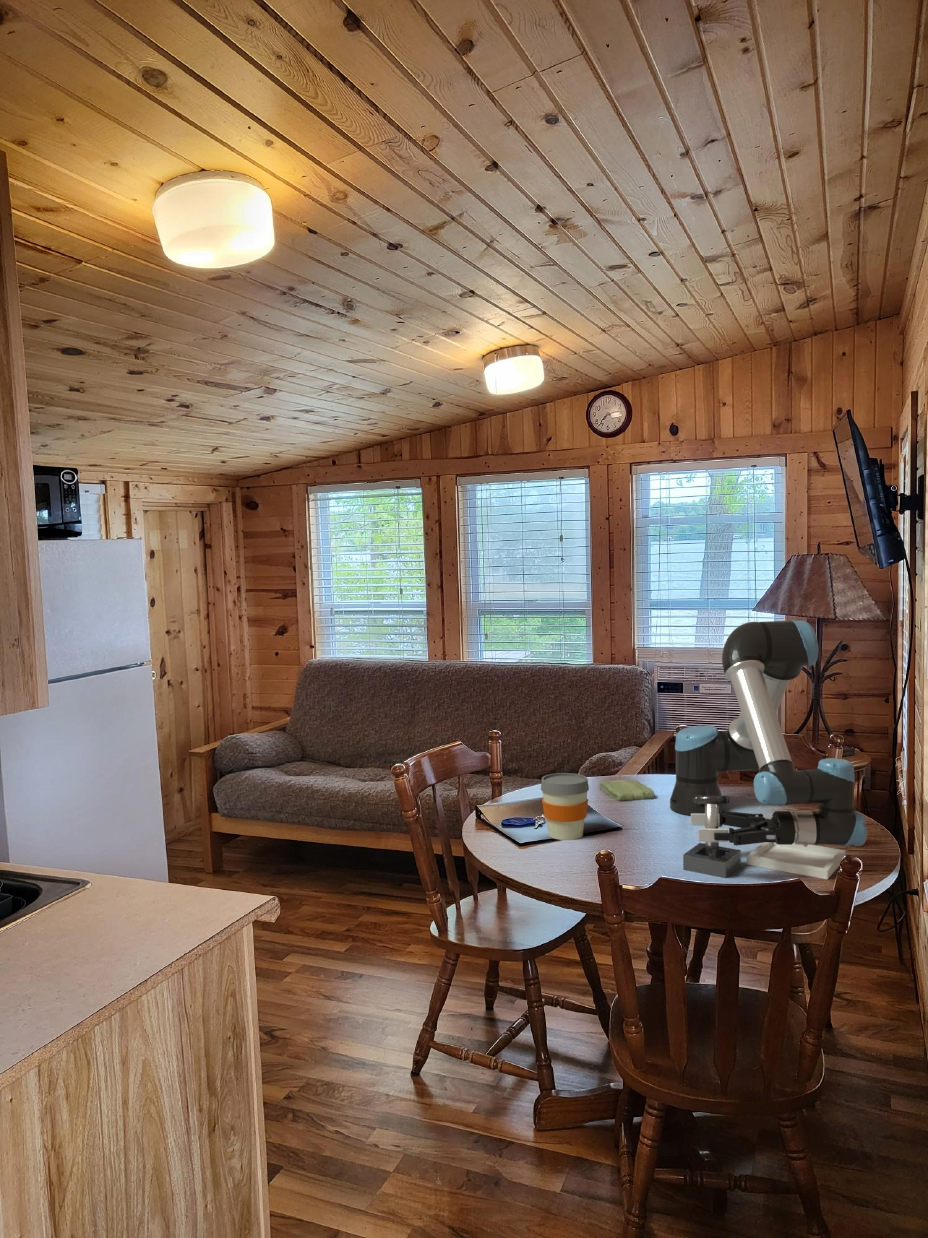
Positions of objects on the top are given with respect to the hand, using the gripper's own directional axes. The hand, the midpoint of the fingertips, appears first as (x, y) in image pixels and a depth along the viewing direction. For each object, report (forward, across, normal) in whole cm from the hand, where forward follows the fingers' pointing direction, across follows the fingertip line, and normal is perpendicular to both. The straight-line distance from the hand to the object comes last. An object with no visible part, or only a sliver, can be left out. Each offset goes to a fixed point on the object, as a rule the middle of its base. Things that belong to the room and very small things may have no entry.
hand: (694, 827), depth 203 cm
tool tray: (-24, +5, -10) cm, 26 cm away
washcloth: (+12, +64, -10) cm, 66 cm away
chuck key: (-4, 0, -9) cm, 10 cm away
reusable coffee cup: (+30, +23, -10) cm, 39 cm away
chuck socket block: (-4, 0, -10) cm, 10 cm away
